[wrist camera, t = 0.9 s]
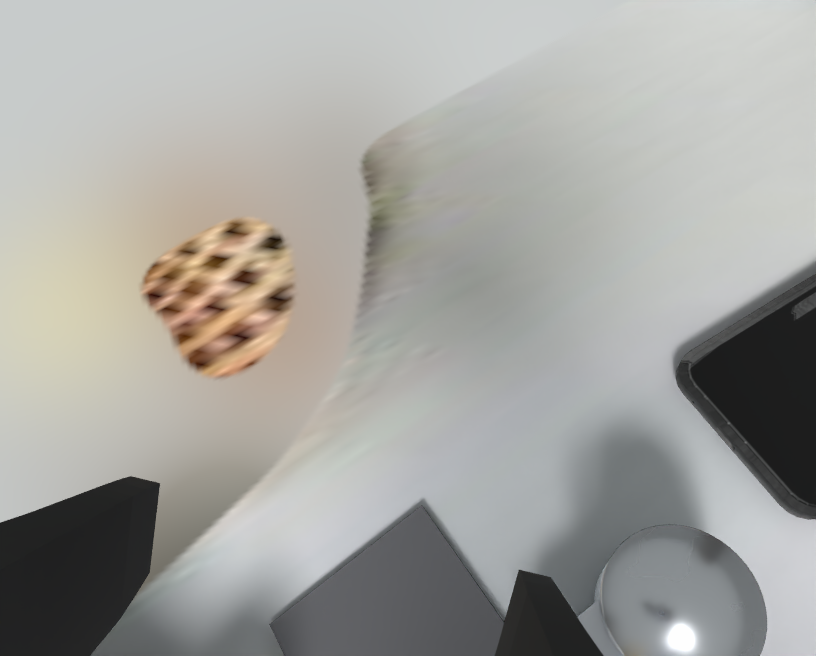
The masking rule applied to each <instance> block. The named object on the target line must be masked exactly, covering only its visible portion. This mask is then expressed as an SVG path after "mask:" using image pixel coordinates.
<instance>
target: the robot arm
mask: <svg viewBox="0 0 816 656" xmlns="http://www.w3.org/2000/svg"><path fill="white" fill-rule="evenodd" d="M159 487H160V483H156V482H152V481H148V480H143V479H140V478H136V477H127V478H123V479H120V480H117V481H114V482H111V483H108V484H105V485H103V486H100V487H97V488H95V489H92V490H89V491H87V492H84V493H81V494H79V495H76V496H74V497H71V498H68V499H65V500H63V501H60V502H57V503H55V504H52V505H50V506H47V507H44V508H42V509H39V510H36V511H33V512H31V513H28V514H25V515H22V516H19V517H16V518H13V519H10V520H7V521H4V522H1V523H0V656H90V655H91V654H92V652H93V651H94V650H95V649H96V647H97V646H98V645H99V644H100V643H101V641H102V640H103V639H104V638H105V637H106V635H107V634H108V633H109V632H110V631H111V629H112V628H113V627H114V626H115V624H116V623H117V622H118V621H119V619H120V618H121V617H122V615H123V614H124V612H125V610H126V609H127V607H128V606H129V604H130V603H131V601H132V600H133V598H134V597H135V595H136V594H137V592H138V590H139V589H140V587H141V586H142V584H143V582H144V581H145V579H146V578H147V576H148V574H149V572H150V565H151V556H152V547H153V538H154V529H155V521H156V512H157V504H158V495H159ZM495 656H604V655H603V654H602V652H601V651H600V650H599V648H598V647H597V645H596V644H595V643H594V641H593V640H592V638H591V637H590V635H589V634H588V632H587V631H586V630H585V628H584V627H583V625H582V624H581V622H580V621H579V619H578V618H577V616H576V615H575V613H574V612H573V610H572V609H571V607H570V606H569V604H568V603H567V601H566V600H565V598H564V597H563V595H562V593H561V592H560V590H559V589H558V587H557V586H556V584H555V583H554V582H553V580H552V579H551V577H547V576H543V575H539V574H534V573H530V572H526V571H522V570H519V572H518V575H517V579H516V582H515V586H514V589H513V593H512V597H511V600H510V604H509V607H508V611H507V614H506V618H505V621H504V625H503V628H502V632H501V635H500V639H499V643H498V646H497V650H496V653H495Z"/></svg>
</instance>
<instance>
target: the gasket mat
mask: <svg viewBox="0 0 816 656" xmlns="http://www.w3.org/2000/svg"><path fill="white" fill-rule="evenodd" d="M269 625H270V627H271V629H272V631H273V633H274V635H275V637H276V639H277V641H278V643H279V645H280V647H281V649H282V651H283V653H284V655H285V656H495V653H496V650H497V646H498V643H499V639H500V635H501V632H502V628H503V625H504V622H503V620H502V619H501V617H500V616H499V615H498V613H497V612H496V610H495V609H494V607H493V606H492V605H491V603H490V602H489V600H488V599H487V597H486V596H485V595H484V593H483V592H482V590H481V589H480V587H479V586H478V585H477V583H476V582H475V580H474V579H473V577H472V576H471V575H470V573H469V572H468V570H467V569H466V567H465V566H464V565H463V563H462V562H461V560H460V559H459V557H458V556H457V555H456V553H455V552H454V550H453V549H452V547H451V546H450V545H449V543H448V542H447V540H446V539H445V537H444V536H443V535H442V533H441V532H440V530H439V529H438V527H437V526H436V525H435V523H434V522H433V520H432V519H431V517H430V516H429V515H428V513H427V512H426V510H425V509H424V507H423V506H421V507H419V508H418V509H417V510H415V511H414V512H413V513H412V514H410V515H409V516H408V517H406V518H405V519H404V520H403V521H401V522H400V523H399V524H397V525H396V526H395V527H394V528H392V529H391V530H390V531H388V532H387V533H386V534H385V535H383V536H382V537H381V538H380V539H378V540H377V541H376V542H374V543H373V544H372V545H371V546H369V547H368V548H367V549H365V550H364V551H363V552H362V553H360V554H359V555H358V556H356V557H355V558H354V559H353V560H351V561H350V562H349V563H348V564H346V565H345V566H344V567H342V568H341V569H340V570H339V571H337V572H336V573H335V574H333V575H332V576H331V577H330V578H328V579H327V580H326V581H324V582H323V583H322V584H321V585H319V586H318V587H317V588H316V589H314V590H313V591H312V592H310V593H309V594H308V595H307V596H305V597H304V598H303V599H301V600H300V601H299V602H298V603H296V604H295V605H294V606H292V607H291V608H290V609H289V610H287V611H286V612H285V613H283V614H282V615H281V616H280V617H278V618H277V619H276V620H275V621H273V622H272V623H271V624H269Z"/></svg>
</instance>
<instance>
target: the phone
mask: <svg viewBox="0 0 816 656" xmlns="http://www.w3.org/2000/svg"><path fill="white" fill-rule="evenodd" d="M676 380H677V384H678V387H679V388H680V390H681V391H682V393H683V394H684V395H685V396H686V398H687V399H688V400H689V401H690V402H691V403H692V405H693V406H694V407H695V408H696V409H697V410H698V411H699V413H700V414H701V415H702V416H703V417H704V418H705V420H706V421H707V422H708V423H709V424H710V425H711V426H712V428H713V429H714V430H715V431H716V432H717V433H718V435H719V436H720V437H721V438H722V439H723V440H724V441H725V443H726V444H727V445H728V446H729V447H730V448H731V450H732V451H733V452H734V453H735V454H736V455H737V456H738V458H739V459H740V460H741V461H742V462H743V463H744V465H745V466H746V467H747V468H748V469H749V470H750V472H751V473H752V474H753V475H754V476H755V477H756V478H757V480H758V481H759V482H760V483H761V484H762V485H763V487H764V488H765V489H766V490H767V491H768V492H769V493H770V495H771V496H772V497H773V498H774V499H775V500H776V502H777V503H778V504H779V505H780V506H781V507H783V508H784V509H785V510H786V511H787V512H789V513H791V514H793V515H795V516H797V517H800V518H804V519H816V274H815V275H813V276H811V277H810V278H808V279H806V280H805V281H803V282H802V283H800V284H798V285H797V286H795V287H793V288H792V289H790V290H789V291H787V292H785V293H784V294H782V295H780V296H779V297H777V298H776V299H774V300H772V301H771V302H769V303H767V304H766V305H764V306H763V307H761V308H759V309H758V310H756V311H755V312H753V313H751V314H750V315H748V316H746V317H745V318H743V319H742V320H740V321H738V322H737V323H735V324H733V325H732V326H730V327H729V328H727V329H725V330H724V331H722V332H720V333H719V334H717V335H716V336H714V337H712V338H711V339H709V340H707V341H706V342H704V343H703V344H701V345H699V346H698V347H696V348H694V349H693V350H691V351H690V352H688V353H687V354H686V355H685V356H684V357H683V359H682V360H681V362H680V364H679V367H678V369H677V374H676ZM692 401H693V402H694V403H693V402H692Z"/></svg>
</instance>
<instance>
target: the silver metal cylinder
mask: <svg viewBox="0 0 816 656" xmlns="http://www.w3.org/2000/svg"><path fill="white" fill-rule="evenodd" d="M577 618H578V619H579V621H580V622H581V624H582V625H583V627H584V628H585V630H586V631H587V632H588V634H589V635H590V637H591V638H592V640H593V641H594V643H595V644H596V645H597V647H598V648H599V650H600V651H601V652H602V654H603V655H604V656H760V654H761V652H762V649H763V646H764V643H765V639H766V632H767V615H766V607H765V603H764V599H763V595H762V593H761V590H760V588H759V585H758V583H757V581H756V579H755V578H754V576H753V574H752V572H751V571H750V570H749V568H748V567H747V565H746V564H745V563H744V562H743V560H742V559H741V558H740V557H739V556H738V555H737V554H736V553H735V552H734V551H733V550H732V549H731V548H730V547H728V546H727V545H726V544H724V543H723V542H722V541H720V540H718V539H717V538H715V537H713V536H712V535H710V534H708V533H705V532H703V531H701V530H698V529H695V528H692V527H687V526H682V525H658V526H653V527H649V528H646V529H643V530H641V531H639V532H637V533H635V534H633V535H632V536H630V537H629V538H627V539H626V540H625V541H624V542H623V543H622V544H621V545H620V546H619V547H618V548H617V549H616V551H615V552H614V553H613V555H612V556H611V558H610V559H609V561H608V562H607V564H606V565H605V567H604V568H603V570H602V572H601V574H600V576H599V578H598V581H597V584H596V588H595V596H594V603H593V604H592V605H591V606H590V607H588V608H587V609H586V610H585V611H584V612H582V613H581V614H580V615H579V616H578V617H577Z"/></svg>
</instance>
